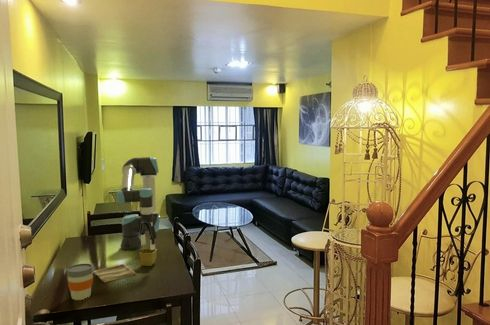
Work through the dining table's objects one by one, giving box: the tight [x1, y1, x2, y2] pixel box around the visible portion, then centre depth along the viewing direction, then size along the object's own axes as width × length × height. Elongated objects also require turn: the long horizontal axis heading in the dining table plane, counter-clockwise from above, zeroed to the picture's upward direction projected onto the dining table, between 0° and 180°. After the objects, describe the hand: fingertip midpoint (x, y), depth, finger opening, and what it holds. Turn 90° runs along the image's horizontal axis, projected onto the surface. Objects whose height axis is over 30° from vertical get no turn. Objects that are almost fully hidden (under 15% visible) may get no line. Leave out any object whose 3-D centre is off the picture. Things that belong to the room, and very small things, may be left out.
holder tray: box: [93, 263, 136, 283], centre depth 225 cm, size 18×18×2 cm
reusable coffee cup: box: [66, 263, 94, 301], centre depth 195 cm, size 13×13×15 cm
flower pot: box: [139, 248, 158, 267], centre depth 239 cm, size 9×9×9 cm
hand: (148, 247), depth 238 cm, fingers open, 13 cm apart
